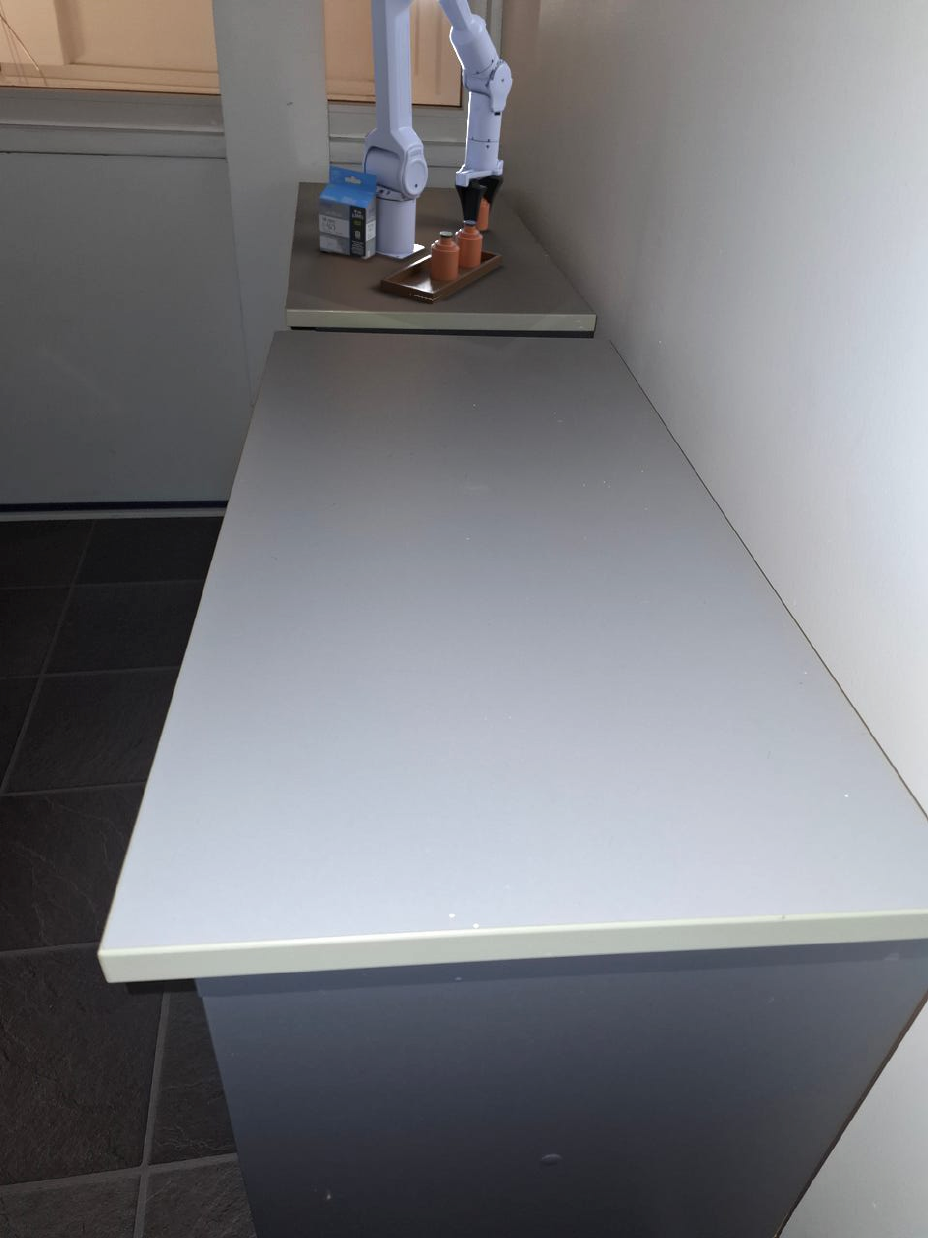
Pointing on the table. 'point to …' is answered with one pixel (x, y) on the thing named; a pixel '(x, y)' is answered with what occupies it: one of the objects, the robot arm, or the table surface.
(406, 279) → the tray
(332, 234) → the ink cartridge box
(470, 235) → the bottle back
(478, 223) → the loose bottle
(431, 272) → the bottle middle
